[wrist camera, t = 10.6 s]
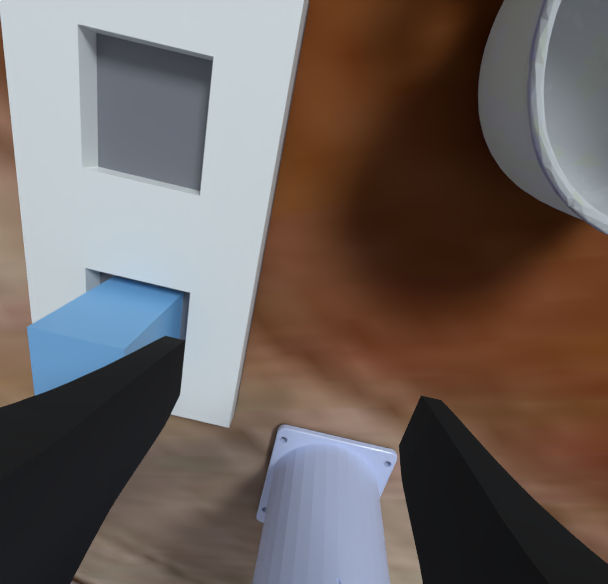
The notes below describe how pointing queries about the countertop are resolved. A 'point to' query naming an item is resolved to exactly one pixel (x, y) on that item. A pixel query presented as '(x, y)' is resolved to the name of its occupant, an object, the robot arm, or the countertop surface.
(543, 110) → the teacup
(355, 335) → the countertop surface
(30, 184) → the panel
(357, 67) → the countertop surface
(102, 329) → the plug
